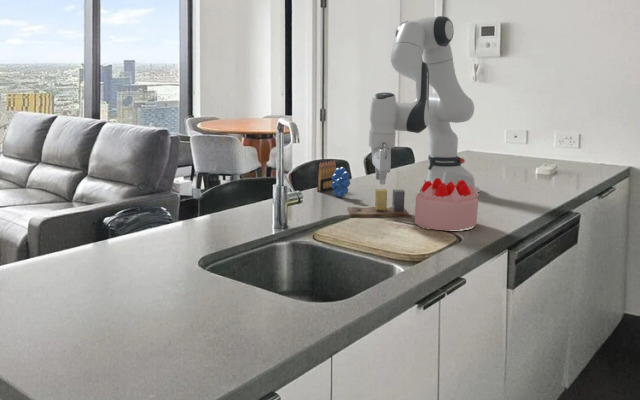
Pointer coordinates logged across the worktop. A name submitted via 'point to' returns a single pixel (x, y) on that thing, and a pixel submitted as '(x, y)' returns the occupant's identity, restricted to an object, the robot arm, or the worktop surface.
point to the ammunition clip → (326, 176)
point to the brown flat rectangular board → (375, 212)
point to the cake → (446, 205)
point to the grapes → (340, 182)
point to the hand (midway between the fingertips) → (380, 181)
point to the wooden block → (381, 199)
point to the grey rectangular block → (398, 200)
